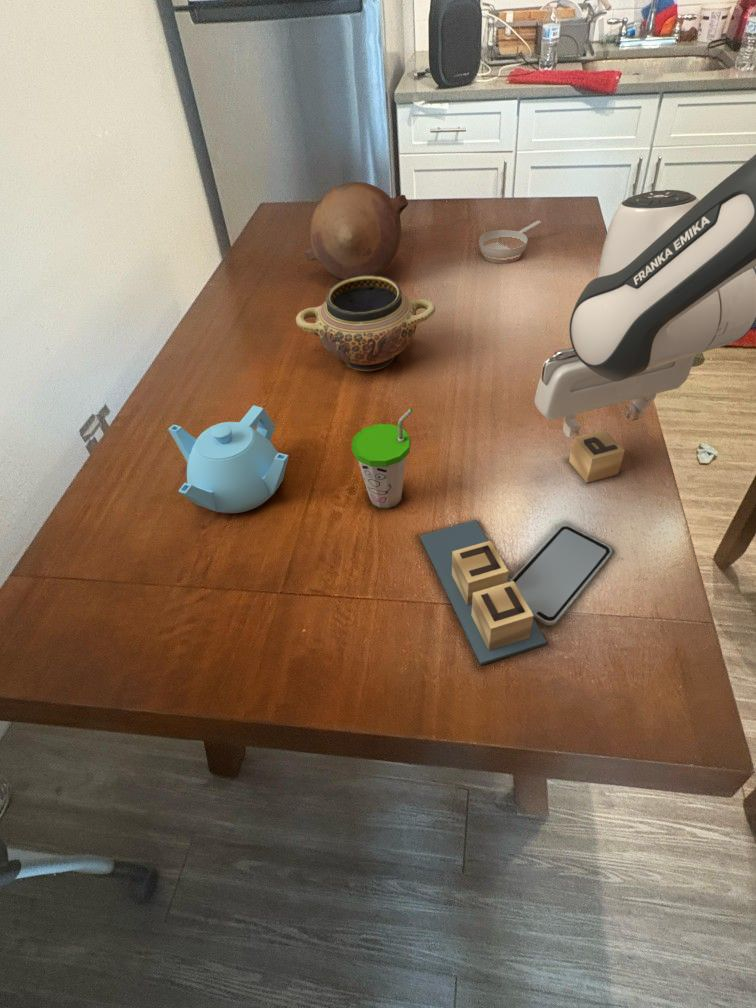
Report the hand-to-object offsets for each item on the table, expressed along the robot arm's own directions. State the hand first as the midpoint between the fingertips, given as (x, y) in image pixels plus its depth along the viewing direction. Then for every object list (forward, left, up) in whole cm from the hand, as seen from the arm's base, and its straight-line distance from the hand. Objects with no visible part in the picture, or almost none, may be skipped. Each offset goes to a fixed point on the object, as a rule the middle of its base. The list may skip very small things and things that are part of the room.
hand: (601, 425), depth 82 cm
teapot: (+15, +50, -8) cm, 53 cm away
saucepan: (+72, -22, -8) cm, 75 cm away
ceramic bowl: (+41, +22, -8) cm, 47 cm away
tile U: (-14, +24, -7) cm, 29 cm away
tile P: (0, 0, -8) cm, 8 cm away
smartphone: (-16, +14, -8) cm, 22 cm away
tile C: (-21, +24, -7) cm, 32 cm away
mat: (-14, +24, -8) cm, 29 cm away
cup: (+5, +30, -8) cm, 31 cm away
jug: (+79, +12, -8) cm, 80 cm away
